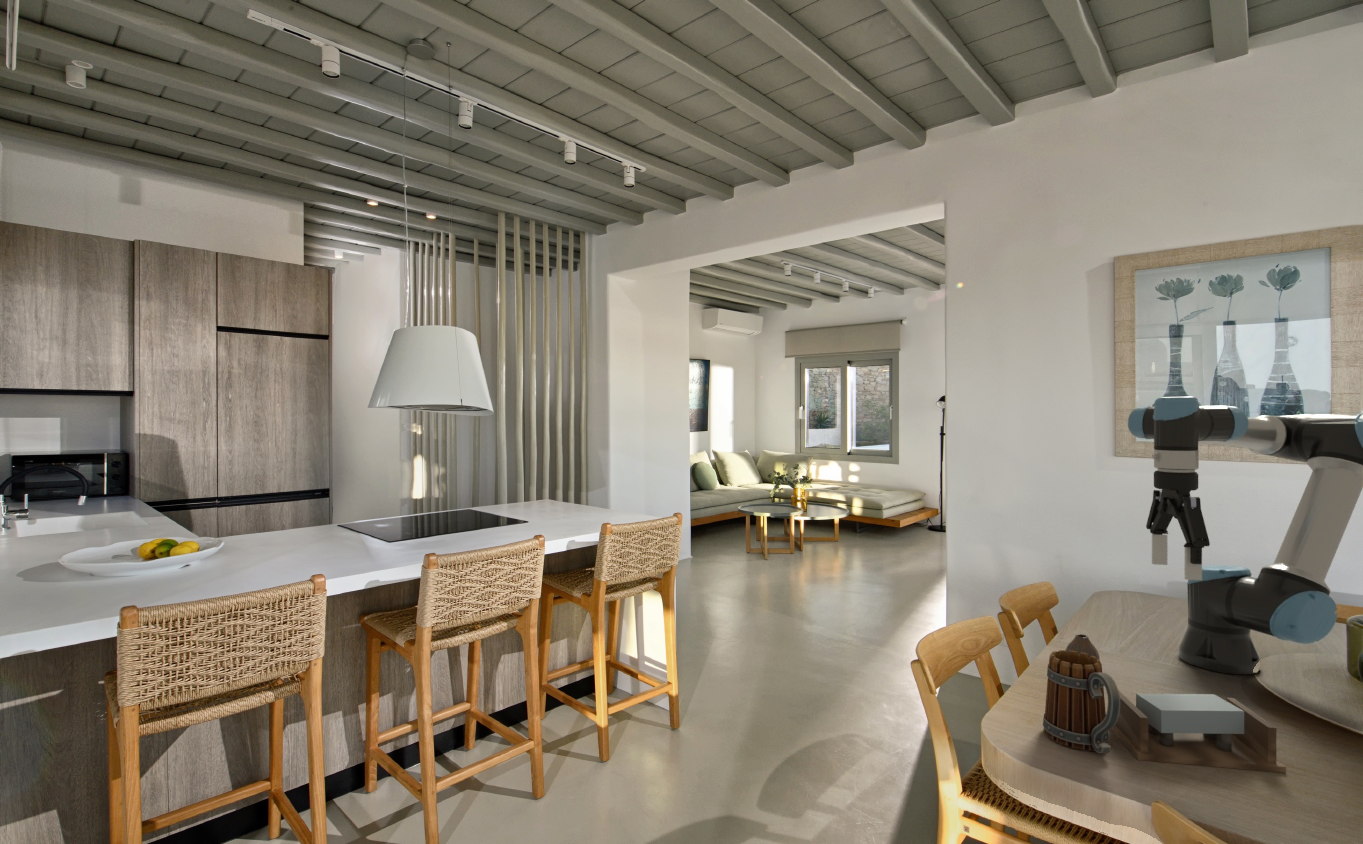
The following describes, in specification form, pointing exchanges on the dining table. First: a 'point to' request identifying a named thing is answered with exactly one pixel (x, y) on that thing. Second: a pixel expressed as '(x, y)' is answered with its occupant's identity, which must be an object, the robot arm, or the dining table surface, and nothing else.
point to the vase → (1082, 646)
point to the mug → (1079, 702)
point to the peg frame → (1200, 742)
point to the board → (1191, 713)
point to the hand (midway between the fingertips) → (1175, 571)
